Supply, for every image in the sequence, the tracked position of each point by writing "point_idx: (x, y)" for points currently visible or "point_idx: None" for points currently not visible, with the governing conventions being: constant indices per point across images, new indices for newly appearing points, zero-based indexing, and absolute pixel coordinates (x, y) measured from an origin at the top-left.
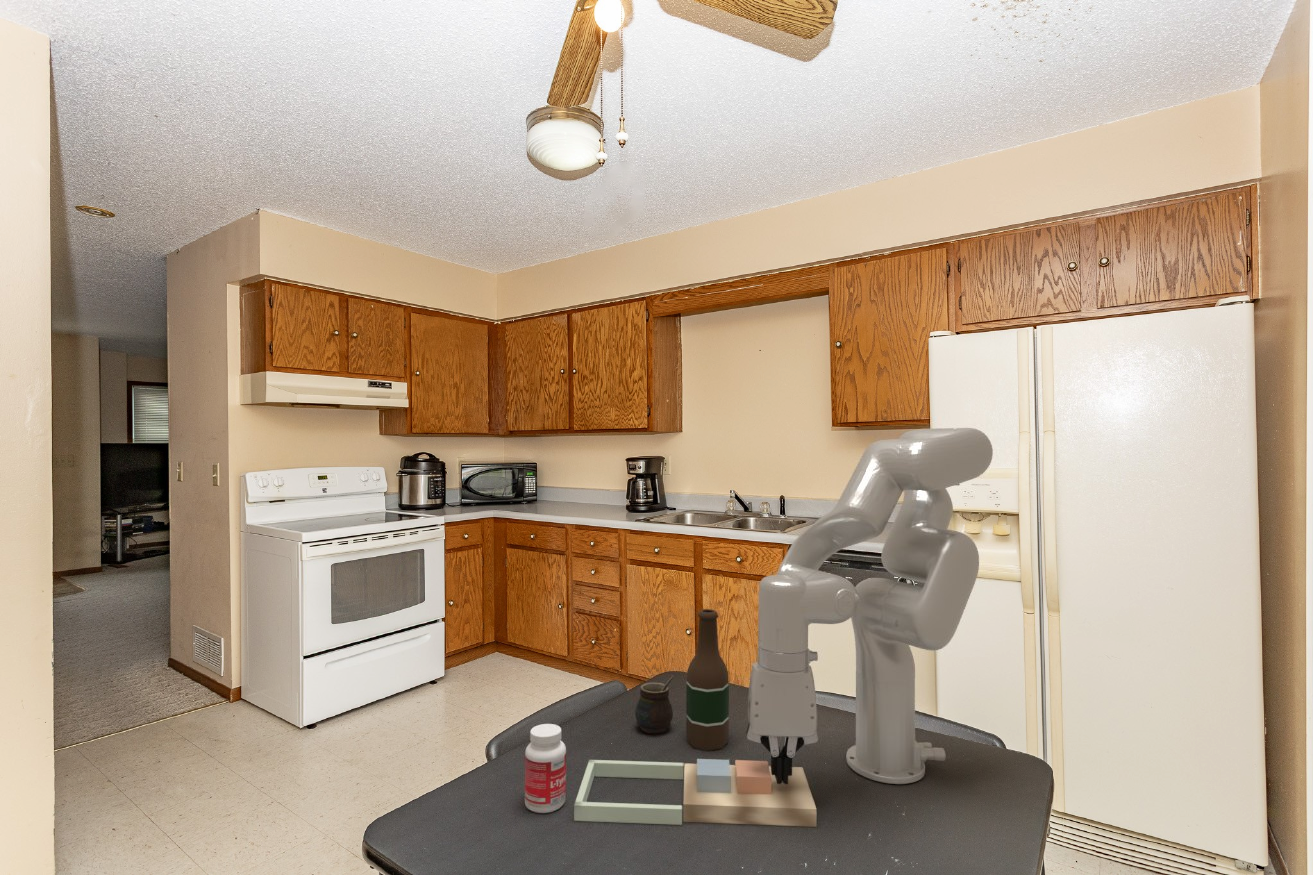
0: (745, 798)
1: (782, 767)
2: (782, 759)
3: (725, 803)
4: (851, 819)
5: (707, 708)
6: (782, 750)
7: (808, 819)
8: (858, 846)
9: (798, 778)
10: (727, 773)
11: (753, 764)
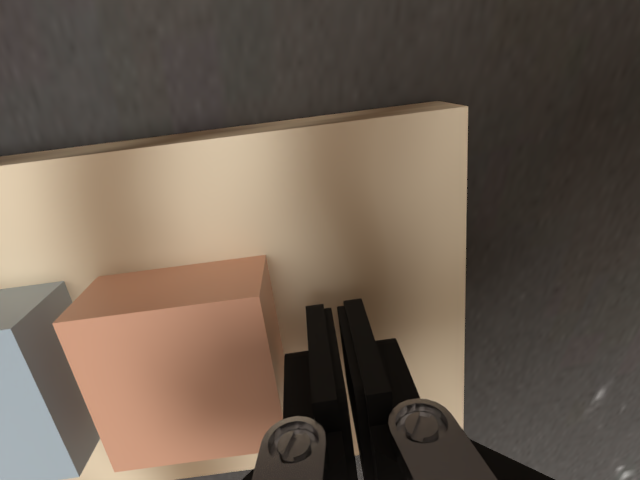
0: None
1: (352, 408)
2: (359, 443)
3: (113, 474)
4: (571, 332)
5: None
6: (367, 413)
7: None
8: (544, 448)
9: (426, 236)
10: (54, 460)
11: (177, 350)
